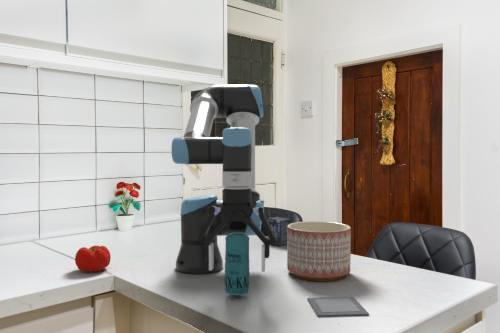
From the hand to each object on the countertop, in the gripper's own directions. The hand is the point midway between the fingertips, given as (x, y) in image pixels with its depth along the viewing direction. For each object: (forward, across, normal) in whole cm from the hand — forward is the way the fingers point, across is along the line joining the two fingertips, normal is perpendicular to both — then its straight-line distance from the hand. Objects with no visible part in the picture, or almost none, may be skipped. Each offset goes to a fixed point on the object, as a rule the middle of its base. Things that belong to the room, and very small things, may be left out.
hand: (237, 269), depth 116 cm
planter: (+7, +22, +24) cm, 34 cm away
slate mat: (+7, +25, -5) cm, 26 cm away
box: (+7, +8, +66) cm, 67 cm away
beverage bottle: (+7, 0, 0) cm, 7 cm away
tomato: (+7, -49, +21) cm, 54 cm away
